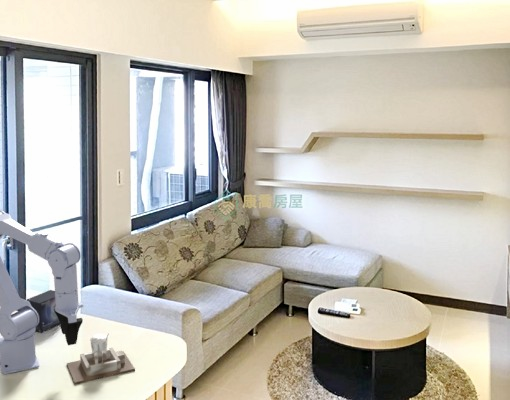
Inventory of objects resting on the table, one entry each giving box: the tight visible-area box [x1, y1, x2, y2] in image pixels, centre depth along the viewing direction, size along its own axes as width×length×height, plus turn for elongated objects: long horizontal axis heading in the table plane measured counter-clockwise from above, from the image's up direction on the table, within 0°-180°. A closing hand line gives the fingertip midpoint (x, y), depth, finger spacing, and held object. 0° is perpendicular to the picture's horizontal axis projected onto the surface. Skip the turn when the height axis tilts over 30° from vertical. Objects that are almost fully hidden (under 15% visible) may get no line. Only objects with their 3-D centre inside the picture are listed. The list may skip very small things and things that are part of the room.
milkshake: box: [90, 333, 109, 365], centre depth 151 cm, size 4×5×10 cm
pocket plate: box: [66, 347, 136, 385], centre depth 152 cm, size 16×12×3 cm
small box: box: [26, 289, 60, 334], centre depth 179 cm, size 11×6×10 cm, turn 155°
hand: (69, 338), depth 147 cm, fingers open, 7 cm apart
